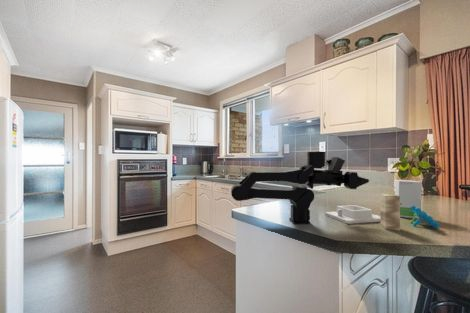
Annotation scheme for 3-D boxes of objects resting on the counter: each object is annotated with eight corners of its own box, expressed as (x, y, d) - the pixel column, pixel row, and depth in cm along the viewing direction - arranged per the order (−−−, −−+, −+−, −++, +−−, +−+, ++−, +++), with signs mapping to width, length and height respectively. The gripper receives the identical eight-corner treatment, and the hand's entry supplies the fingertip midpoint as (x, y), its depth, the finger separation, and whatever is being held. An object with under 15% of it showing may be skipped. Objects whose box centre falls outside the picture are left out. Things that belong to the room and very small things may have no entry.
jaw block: (385, 229, 80) (385, 195, 80) (380, 225, 85) (380, 193, 85) (399, 230, 79) (399, 196, 79) (394, 226, 84) (394, 194, 84)
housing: (347, 223, 87) (347, 213, 87) (324, 214, 100) (324, 205, 100) (385, 221, 91) (385, 210, 91) (359, 212, 105) (359, 203, 105)
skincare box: (398, 217, 97) (398, 180, 97) (393, 213, 103) (393, 179, 103) (422, 219, 94) (422, 181, 94) (416, 215, 100) (416, 180, 100)
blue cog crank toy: (446, 227, 77) (420, 205, 80) (432, 238, 78) (406, 216, 81) (431, 223, 88) (408, 203, 91) (418, 233, 88) (396, 213, 92)
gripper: (336, 157, 81) (378, 159, 82) (315, 157, 100) (349, 159, 101) (334, 188, 81) (376, 190, 82) (313, 182, 100) (348, 184, 100)
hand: (361, 179), depth 91 cm, fingers open, 9 cm apart
